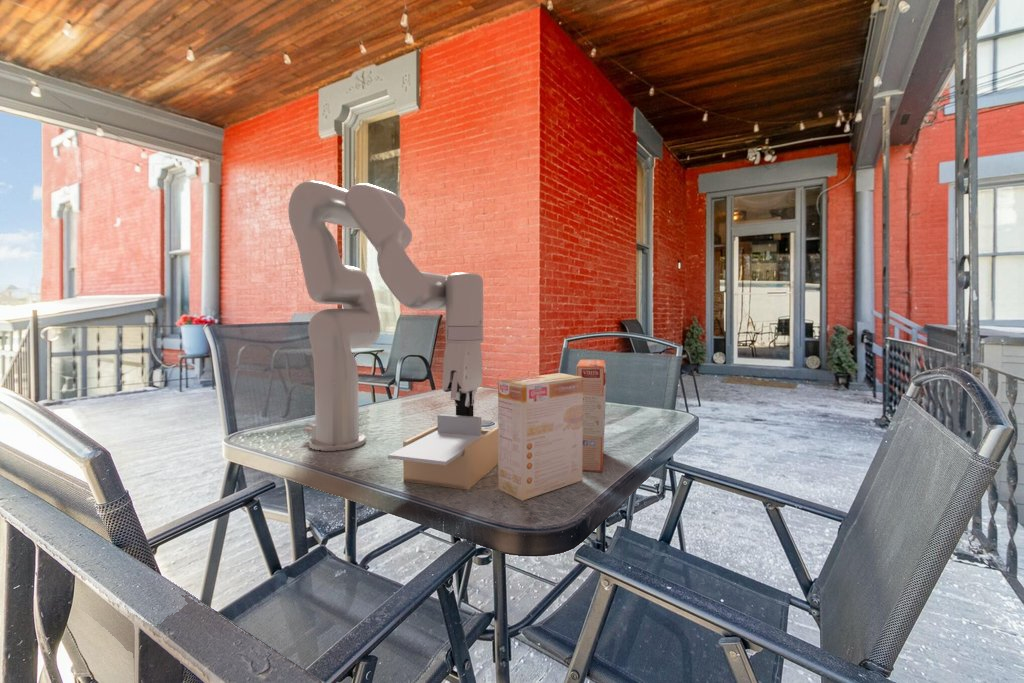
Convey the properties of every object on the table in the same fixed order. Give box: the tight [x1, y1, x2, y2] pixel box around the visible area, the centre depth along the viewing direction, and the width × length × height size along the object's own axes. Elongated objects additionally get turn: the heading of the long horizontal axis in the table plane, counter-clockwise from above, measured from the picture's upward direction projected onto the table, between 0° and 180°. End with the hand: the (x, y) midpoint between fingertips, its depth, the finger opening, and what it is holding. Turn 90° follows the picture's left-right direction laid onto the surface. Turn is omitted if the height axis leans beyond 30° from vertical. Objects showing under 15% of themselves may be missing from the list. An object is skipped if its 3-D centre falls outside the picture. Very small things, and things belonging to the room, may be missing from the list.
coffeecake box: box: [497, 372, 583, 502], centre depth 84 cm, size 15×7×20 cm, turn 129°
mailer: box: [402, 424, 498, 490], centre depth 92 cm, size 13×18×7 cm
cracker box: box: [575, 358, 607, 473], centre depth 97 cm, size 14×6×21 cm, turn 168°
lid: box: [387, 413, 483, 465], centre depth 86 cm, size 11×17×4 cm, turn 161°
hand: (464, 424), depth 96 cm, fingers closed
